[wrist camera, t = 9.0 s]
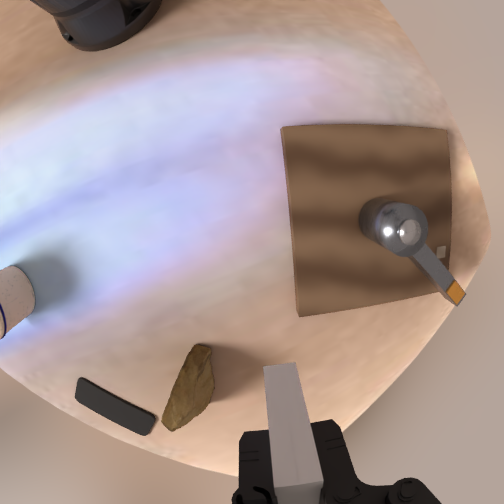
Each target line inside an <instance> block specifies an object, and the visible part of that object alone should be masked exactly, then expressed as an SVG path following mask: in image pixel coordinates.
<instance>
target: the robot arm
mask: <svg viewBox="0 0 504 504" xmlns="http://www.w3.org/2000/svg"><path fill="white" fill-rule="evenodd" d="M30 1H32V2H33V3H35V4H36V5H38V6H39V7H41V8H42V9H44V10H45V11H47V12H48V13H50V14H51V15H53V17H54V19H55V21H56V23H57V25H58V28H59V30H60V32H61V34H62V36H63V38H64V39H65V40H66V41H67V42H68V43H69V44H71V45H72V46H74V47H75V48H77V49H79V50H82V51H99V50H104V49H107V48H110V47H113V46H115V45H117V44H119V43H121V42H123V41H125V40H127V39H128V38H130V37H131V36H133V35H134V34H135V33H137V32H138V31H139V30H140V29H142V28H143V27H144V26H145V25H146V24H147V23H148V22H149V21H150V20H151V18H152V17H153V16H154V14H155V13H156V12H157V10H158V8H159V6H160V4H161V1H162V0H30ZM263 370H264V381H265V392H266V403H267V414H268V426H269V430H259V431H248V432H244V433H243V435H242V437H241V439H240V441H239V488H238V489H237V490H236V491H235V493H234V494H233V497H232V504H441V503H440V501H439V500H438V499H437V498H436V497H435V496H434V495H433V494H432V493H431V492H430V490H429V489H428V488H427V487H426V486H425V485H424V484H423V483H422V482H421V481H420V480H418V479H415V478H404V479H401V480H399V481H397V482H396V483H395V484H394V485H385V486H372V485H368V484H365V483H363V482H361V481H360V480H359V479H358V478H357V476H356V474H355V471H354V468H353V465H352V462H351V459H350V456H349V453H348V450H347V447H346V443H345V441H344V439H343V435H342V432H341V429H340V427H339V426H338V425H337V424H336V423H335V422H334V421H333V420H332V419H330V420H325V421H320V422H314V423H310V420H309V416H308V412H307V408H306V404H305V400H304V396H303V392H302V387H301V383H300V379H299V375H298V371H297V367H296V363H295V362H293V363H286V364H278V365H270V366H263Z"/></svg>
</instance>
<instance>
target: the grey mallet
mask: <svg viewBox="0 0 504 504" xmlns="http://www.w3.org/2000/svg"><path fill="white" fill-rule="evenodd" d="M358 223H359V228H360V230H361V232H362V234H363V235H364V236H365V237H366V238H368V239H370V240H371V241H373V242H375V243H377V244H379V245H380V246H382V247H384V248H385V249H387V250H389V251H391V252H392V253H394V254H396V255H398V256H400V257H408V258H409V259H410V260H411V261H412V262H413V263H414V264H415V265H416V266H417V268H418V269H419V270H420V271H421V272H422V273H423V274H424V275H425V276H426V277H427V278H428V280H429V281H430V282H431V283H432V284H433V285H434V286H435V287H436V288H437V290H438V291H439V292H440V293H441V294H442V295H443V297H444V298H446V299H447V300H448V301H450V302H451V303H452V304H454V305H455V306H458V305H459V304H460V302H461V301H462V299H463V298H464V297H465V295H466V293H465V292H464V291H463V289H462V288H461V287H460V285H459V284H458V283H457V281H456V280H455V279H454V277H453V276H452V275H451V274H450V272H449V271H448V270H447V269H446V267H445V266H444V265H443V264H442V262H441V261H440V260H439V259H438V258H437V256H436V255H435V254H434V253H433V252H432V250H431V249H430V248H429V247H428V246H427V245H426V243H425V241H426V239H427V235H428V222H427V219H426V216H425V214H424V213H423V211H422V210H421V209H419V208H418V207H416V206H414V205H410V204H405V203H401V202H397V201H392V200H387V199H383V198H373V199H371V200H369V201H367V202H366V203H365V204H364V205H363V207H362V208H361V210H360V213H359V218H358Z"/></svg>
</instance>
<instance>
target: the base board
mask: <svg viewBox="0 0 504 504" xmlns="http://www.w3.org/2000/svg"><path fill="white" fill-rule="evenodd" d="M280 130H281V138H282V147H283V156H284V165H285V174H286V184H287V193H288V204H289V215H290V226H291V238H292V250H293V263H294V277H295V293H296V309H297V313H298V315H299V317H304V316H311V315H318V314H325V313H331V312H338V311H344V310H350V309H356V308H362V307H367V306H373V305H378V304H383V303H388V302H394V301H399V300H403V299H408V298H413V297H418V296H422V295H427V294H431V293H435V292H439V291H438V290H437V288H436V287H435V286H434V285H433V284H432V283H431V282H430V281H429V280H428V278H427V277H426V276H425V275H424V274H423V273H422V272H421V271H420V270H419V269H418V268H417V266H416V265H415V264H414V263H413V262H412V261H411V260H410V259H409V258H408V257H400V256H398V255H396V254H394V253H392V252H391V251H389V250H387V249H385V248H384V247H382V246H380V245H379V244H377V243H375V242H373V241H371V240H370V239H368V238H366V237H365V236H364V235H363V234H362V232H361V230H360V228H359V223H358V218H359V213H360V210H361V208H362V207H363V205H364V204H365V203H366V202H367V201H369V200H371V199H373V198H383V199H387V200H392V201H397V202H401V203H405V204H410V205H414V206H416V207H418V208H419V209H421V210H422V211H423V213H424V214H425V216H426V219H427V222H428V235H427V239H426V241H425V243H426V245H427V246H428V247H429V248H430V249H431V250H432V252H433V253H434V254H435V255H436V256H437V258H438V259H439V260H440V261H441V262H442V264H443V265H444V266H445V267H446V269H447V270H449V259H450V245H451V219H452V197H451V171H450V157H449V146H448V137H447V130H443V129H433V128H423V127H410V126H394V125H366V124H331V125H302V126H285V127H282V128H281V129H280Z"/></svg>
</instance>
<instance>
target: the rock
mask: <svg viewBox="0 0 504 504" xmlns="http://www.w3.org/2000/svg"><path fill="white" fill-rule="evenodd" d="M210 356H211V349H210V348H208V347H204V346H201V345H197V344H196V345H194V346H193V347H192V349H191V351H190V352H189V354H188V355H187V357H186V360H185V362H184V365H183V366H182V368H181V370H180V372H179V375H178V378H177V379H176V381H175V384H174V386H173V389H172V391H171V395H170V398H169V400H168V403H167V405H166V407H165V410H164V413H163V415H162V420H161V422H162V423H163V425H164V426H165V427H166V428H167V429H168V430H170V431H172V432H173V431H175V430H176V429H178V428H181V427H182V426H184V425H186V424H187V423H188V422H190V421H191V420H192V419H193V418H194V417H195V416H198V415H199V414H201V413H202V412H203V411H204V410H205V409H206V407H207V406H208V404H209V403H210V398H211V395H212V393H213V390H214V379H213V374H212V367H211V364H210V361H209V359H210Z"/></svg>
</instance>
